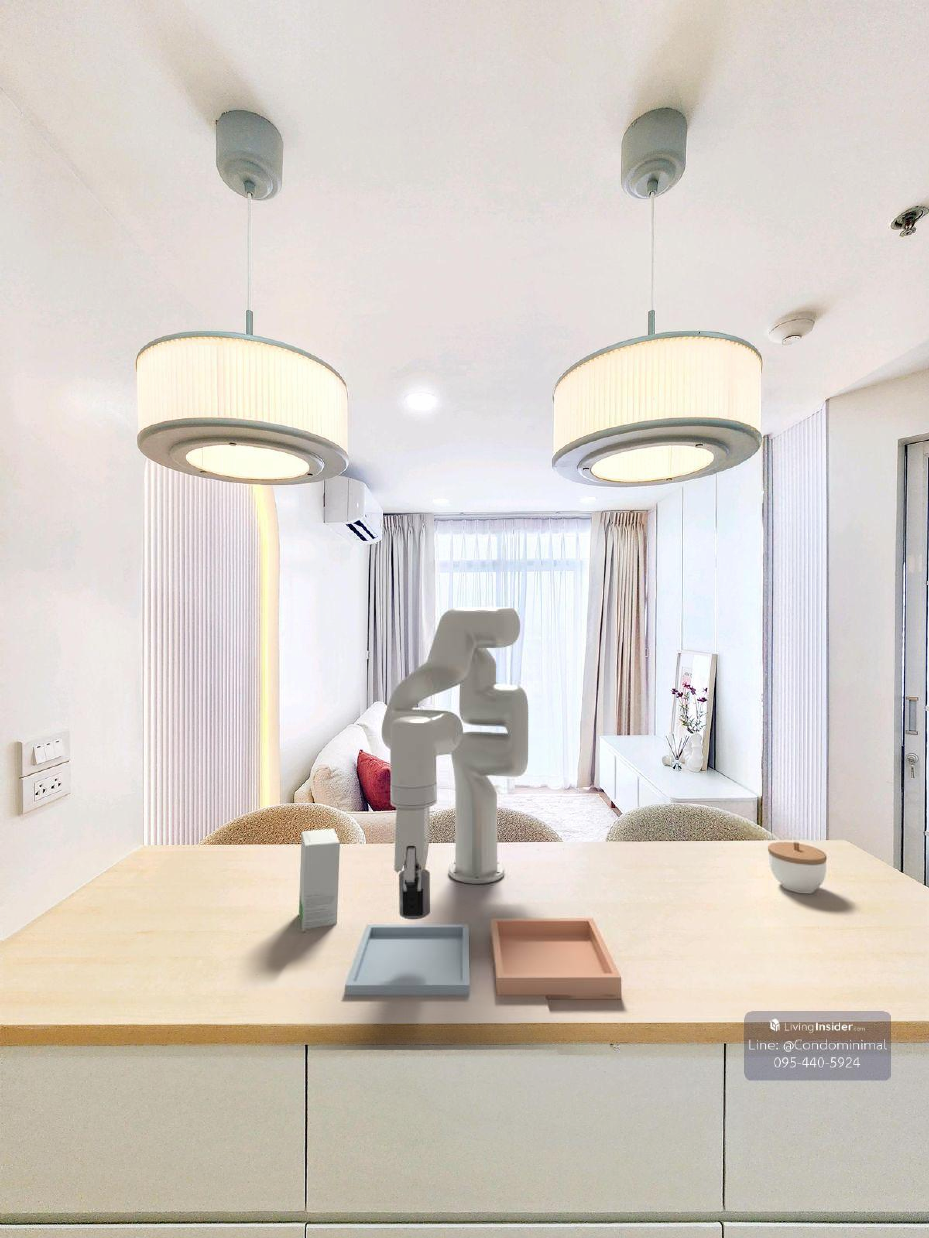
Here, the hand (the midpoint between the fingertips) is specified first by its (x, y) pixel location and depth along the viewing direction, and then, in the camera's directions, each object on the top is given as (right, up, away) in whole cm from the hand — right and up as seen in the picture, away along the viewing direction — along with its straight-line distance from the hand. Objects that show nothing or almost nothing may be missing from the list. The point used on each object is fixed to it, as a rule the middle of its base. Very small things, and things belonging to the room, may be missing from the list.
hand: (414, 904), depth 91 cm
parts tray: (0, -9, -1) cm, 9 cm away
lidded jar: (+79, -11, +28) cm, 84 cm away
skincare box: (-19, -10, +14) cm, 26 cm away
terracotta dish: (+22, -9, -1) cm, 24 cm away
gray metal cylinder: (0, -1, 0) cm, 1 cm away
